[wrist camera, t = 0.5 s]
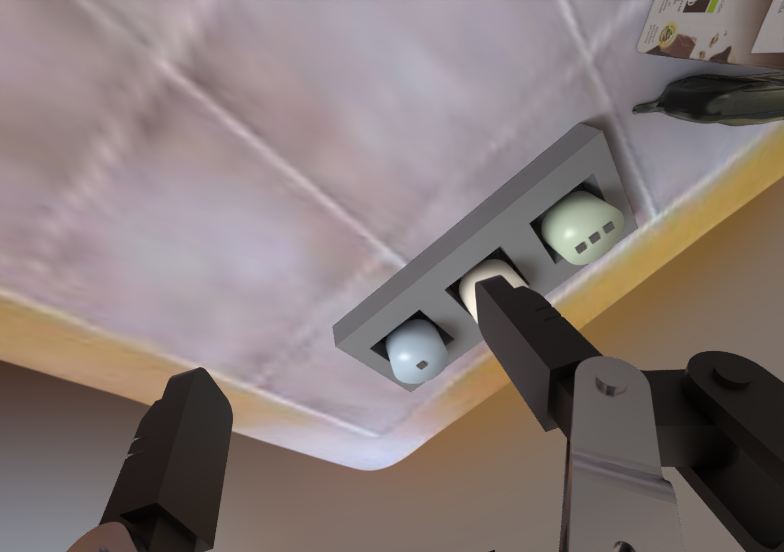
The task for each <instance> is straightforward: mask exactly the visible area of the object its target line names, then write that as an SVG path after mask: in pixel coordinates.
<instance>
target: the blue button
mask: <svg viewBox="0 0 784 552" xmlns="http://www.w3.org/2000/svg"><path fill="white" fill-rule="evenodd" d="M386 350H387V353H388V356H389V359H390V363H391V366H392V369H393V372H394V375H395V377H396V378H397V379H398V380H399V381H401V382H404V383H408V384H418V383H422V382H426V381H428V380H431V379H433V378H434V377H436V376H437V375H439V374H440V373H441V372H442V371H443V370H444V369H445V367H446V366H447V364H448V361H449V354H448V351H447V349H446V347H445V345H444V343H443V341H442V339H441V337H440V335H439V333H438V331H437V329H436V327H435V326H434V325H433V324H432V323H431V322H429V321H426V320H420V319H416V320H410V321H406V322H404V323H402V324H400V325H399V326H397V327H396V328H395V329H394V330H392V331H391V332H390V333H389V335H388V337H387V339H386Z"/></svg>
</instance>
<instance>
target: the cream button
mask: <svg viewBox="0 0 784 552" xmlns="http://www.w3.org/2000/svg"><path fill="white" fill-rule="evenodd" d="M497 275H502V276H503V277H504V278H505V279H506V280H507V281H508V282H509V283H510V284H511V285H512V286H513V287H514V288H517V287H520V286H525V287H527V288H529V287H528V286H527V284H526V283H525V282H524V281H523V280H522V279H521V278H520V277H519V276H518V274H517V273H516V272H515V271H514V270H513V269H512V268H511V267H510V266H509V265H508V263H506V262H505V261H503V260H499V259H490V260H485V261H482V262H480V263H478V264H477V265H475V266H474V267H473V268H471V269H470V270H469V271H468V272H467V273H466V274H465V275H464V276H463V278H462V280H461V282H460V285H459V294H460V297H461V299H462V300H463V302H464V304H465V305H466V307H467V308H468V310H469V311H470V313H471V315H472V316H473V318H474V319H475V321H476V322H477V323H478V320H477V309H476V298H475V283H476V282H477V281H481V280H484V279H487V278H490V277H493V276H497Z"/></svg>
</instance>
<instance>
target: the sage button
mask: <svg viewBox="0 0 784 552" xmlns="http://www.w3.org/2000/svg"><path fill="white" fill-rule="evenodd" d="M623 228H624V217H623V215H622V213H621V212H620V211H619V210H618V209H617V208H615V207H613V206H611V205H610V204H608V203H606V202H605V201H603V200H601V199H599V198H598V197H596V196H594V195H592V194H591V193H589V192H586V191H575V192H572V193H569V194H567V195H565V196H563V197H562V198H561V199H560V200H558V201H557V202H556V203H554V204H553V205H552V206H551V207H550V209H549V210H548V211H547V213H546V215H545V217H544V219H543V222H542V226H541V234H542V237H543V239H544V241H545V242H546V243H548V244H549V245H550V246H551V247H552V248H553V249H554V250H556V251H557V252H558V253H559V254H560V255H561V256H563V257H564V258H565V259H566V260H567V261H568V262H570V263H572V264H575V265H585V264H589V263H592V262H594V261H596V260H598V259H600V258H601V257H603V256H604V255H605V254H606V253H608V252H609V251H610V250H611V249H612V248H613V246H614V245H615V244H616V243H617V241H618V240H619V238H620V236H621V234H622V231H623Z"/></svg>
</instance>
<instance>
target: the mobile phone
mask: <svg viewBox="0 0 784 552" xmlns="http://www.w3.org/2000/svg"><path fill="white" fill-rule="evenodd" d="M632 112H633V114H635V115H640V114H645V113H650V112H661V113H664V114H666V115H668V116H671V117H674V118H677V119H681V120H686V121H690V122H695V123H703V124H708V123H720V124H724V125H729V126H745V125H754V124H764V123H768V122H773V121H779V120H784V72H778V73H768V74H758V75H748V76H734V77H730V76H721V75H699V76H693V77H689V78H687V79H684V80H682V81H678V82H675V83H673V84H670V85H669V86H668V87H667V88H666V89H665V91H664V93H663V95H662V97H661V98H660V99H659V100H658V101H656V102H654V103H651V104H645V105H638V106H636V107H634V108H633V110H632Z"/></svg>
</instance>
